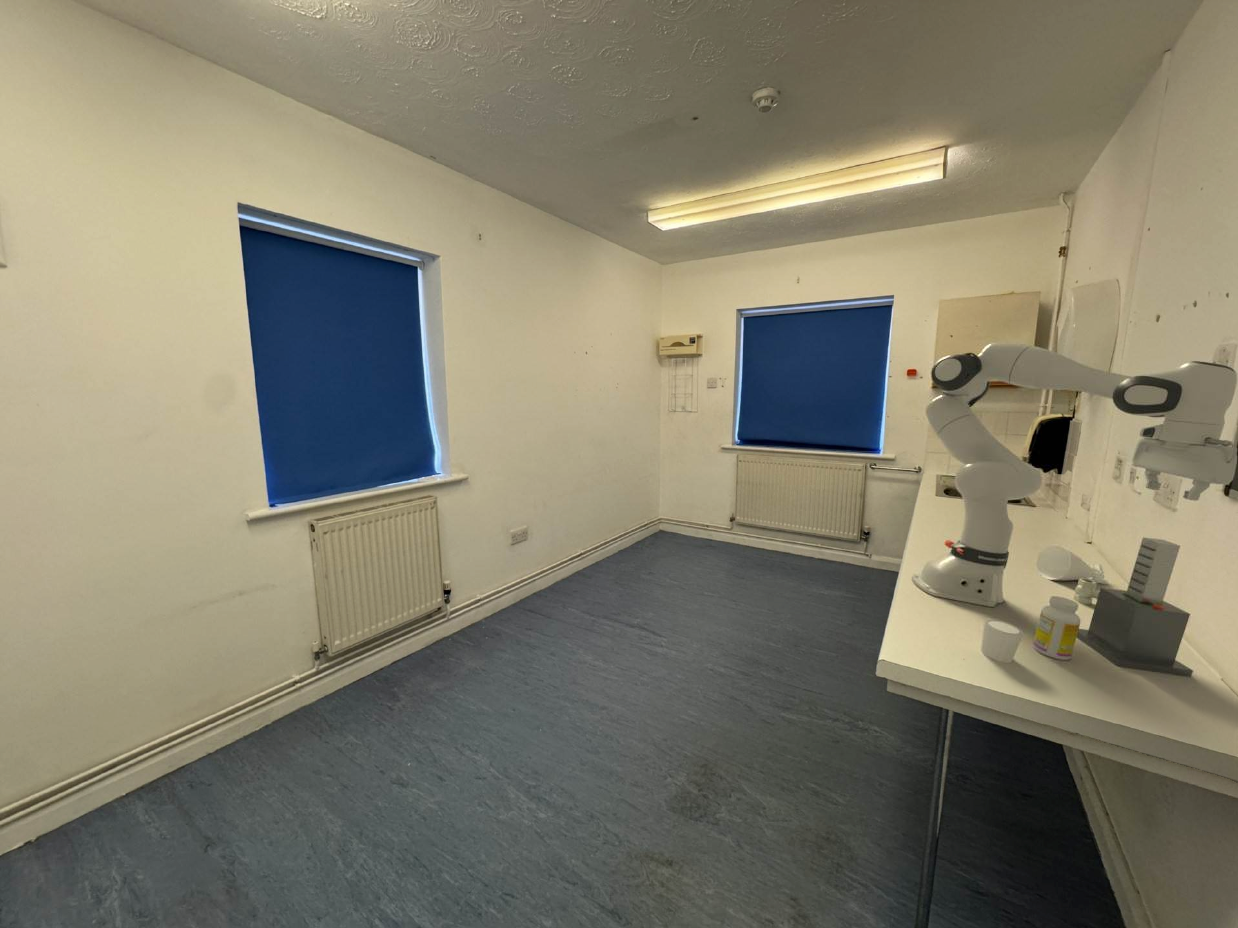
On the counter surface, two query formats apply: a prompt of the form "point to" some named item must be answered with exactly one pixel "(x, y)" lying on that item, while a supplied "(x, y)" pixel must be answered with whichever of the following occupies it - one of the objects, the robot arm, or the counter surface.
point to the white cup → (1000, 640)
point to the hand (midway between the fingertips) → (1170, 494)
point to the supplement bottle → (1057, 628)
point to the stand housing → (1137, 633)
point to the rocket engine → (1066, 565)
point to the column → (1152, 571)
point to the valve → (1086, 591)
